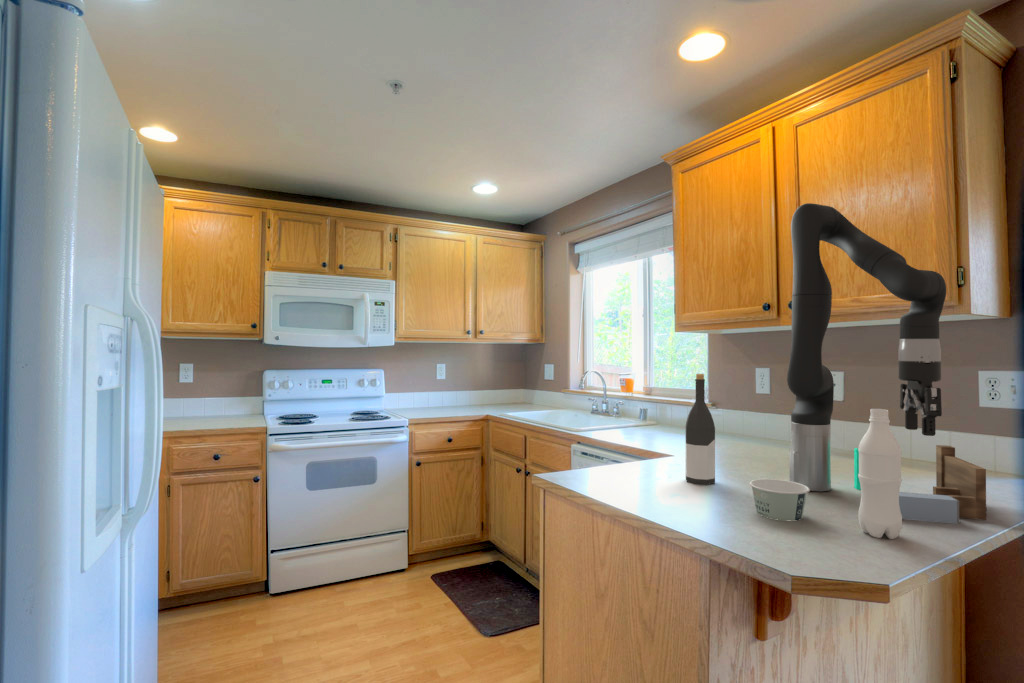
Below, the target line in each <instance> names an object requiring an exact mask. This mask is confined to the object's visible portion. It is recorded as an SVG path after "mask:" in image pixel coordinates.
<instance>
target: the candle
mask: <svg viewBox="0 0 1024 683" xmlns="http://www.w3.org/2000/svg"><path fill="white" fill-rule="evenodd" d="M853 458H854V459H853V472H854V473H853V477H854V478H853V479H854V480H853V481H854V482H853V483H854V485H853V486H854V489H856V490H858V491H861V486H860V481H859V477H858V474H859V451H858V448H857V447H854V449H853Z"/></svg>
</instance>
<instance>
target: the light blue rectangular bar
mask: <svg viewBox="0 0 1024 683" xmlns="http://www.w3.org/2000/svg"><path fill="white" fill-rule="evenodd" d="M899 506H900V512H901V515H902V520H909V521H910V520H911V521H921V522H922V521H923V522H934V523H944V524H946V523H947V524H955V525H956V524H957V525H958V524H960V518H959V501H958V500H956V499H955V498H953V497H951V496H947V495H934V494H933V493H931V494H930V493H918V492H905V491H899Z"/></svg>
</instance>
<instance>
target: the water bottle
mask: <svg viewBox="0 0 1024 683" xmlns="http://www.w3.org/2000/svg"><path fill="white" fill-rule="evenodd" d="M868 421H869V426H868V428H867V431H865V434H864V435H863V437H861V439H860V442H859V443H858V451H859V474H858V477H859V481H860V486H861V490H860V502H859V503H860V504H859V508H858V512H857V515H858V517H857V518H858V523H859V526H860V529H861V531H862V532H863V533H865V534H869V535H870V536H871V537H873V538H875V539H876V538H878V539H881V538H882V537H883V536H884V534H885V536H886V537H887V538H888V539H890V540H894V539H897V537H898V536H899V535H900V533H901V531H902V528H903V519H902V515H901V512H900V506H899V492H900V491H901V485H902V481H903V478H902V449H901V446H900V444H899V442H898V440H897V438H896V437H895V436H894V434H893V433H892V432H893V431H891V427H890V423H891V420H890V417H889V410H888V409H884V408H870V415H869V419H868Z"/></svg>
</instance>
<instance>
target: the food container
mask: <svg viewBox="0 0 1024 683" xmlns="http://www.w3.org/2000/svg"><path fill="white" fill-rule="evenodd" d="M749 485H750V487H751V488H752V489H751V490H752V494H753V500H754V506H755V511H756V513H757V515H759V514H760V515H759V516H761V515H762V516H761V517H763V516H765V517H764V518H766V517H768V518H767V519H769V518H772V519H771V520H774V519H778V520H777V521H780V520H797V521H800V520H799V519H801V520H802V519H803V516H804V512H805V506H806V500H807V496H808V493H809V492H811V491H810V489H809V488H808V487H807V486H805V485H802V484H799V483H796V482H791V481H790V480H784V479H775V478H773V479H772V478H759V479H753V480H750V482H749Z"/></svg>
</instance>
